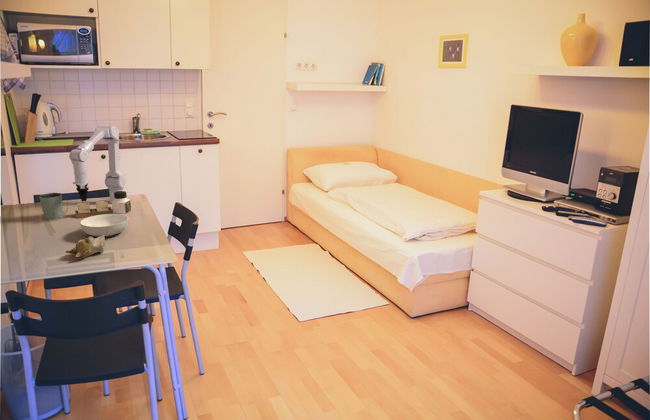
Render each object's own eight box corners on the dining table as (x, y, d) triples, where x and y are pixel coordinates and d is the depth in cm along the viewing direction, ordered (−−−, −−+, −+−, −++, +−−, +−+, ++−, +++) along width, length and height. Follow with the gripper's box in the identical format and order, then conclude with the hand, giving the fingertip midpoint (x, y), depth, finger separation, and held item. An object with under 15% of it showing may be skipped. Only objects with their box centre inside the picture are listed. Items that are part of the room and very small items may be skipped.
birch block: (78, 214, 265) (77, 203, 264) (90, 213, 268) (88, 202, 266) (78, 216, 262) (77, 205, 260) (90, 215, 264) (89, 204, 263)
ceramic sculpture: (108, 234, 214) (71, 244, 204) (112, 253, 216) (75, 264, 206) (98, 228, 221) (61, 238, 211) (102, 247, 224) (66, 257, 214)
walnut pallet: (75, 215, 268) (74, 209, 267) (111, 211, 275) (110, 206, 274) (76, 220, 259) (75, 215, 258) (112, 216, 266) (112, 211, 266)
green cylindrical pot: (68, 215, 268) (65, 193, 264) (57, 221, 258) (53, 198, 254) (50, 214, 268) (47, 192, 265) (38, 220, 259) (34, 197, 255)
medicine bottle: (126, 215, 269) (124, 193, 265) (112, 215, 269) (110, 193, 266) (131, 211, 276) (129, 189, 272) (118, 211, 276) (116, 189, 272)
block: (97, 212, 269) (95, 201, 267) (108, 211, 271) (107, 200, 270) (97, 214, 266) (96, 203, 264) (109, 213, 268) (107, 202, 266)
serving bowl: (138, 229, 248) (137, 215, 246) (110, 243, 229) (108, 228, 227) (102, 225, 253) (100, 211, 251) (71, 238, 234) (69, 224, 232)
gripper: (71, 171, 264) (74, 196, 268) (72, 176, 251) (75, 203, 255) (86, 169, 267) (89, 195, 271) (87, 175, 254) (91, 202, 258)
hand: (83, 199), depth 263 cm, fingers open, 7 cm apart
